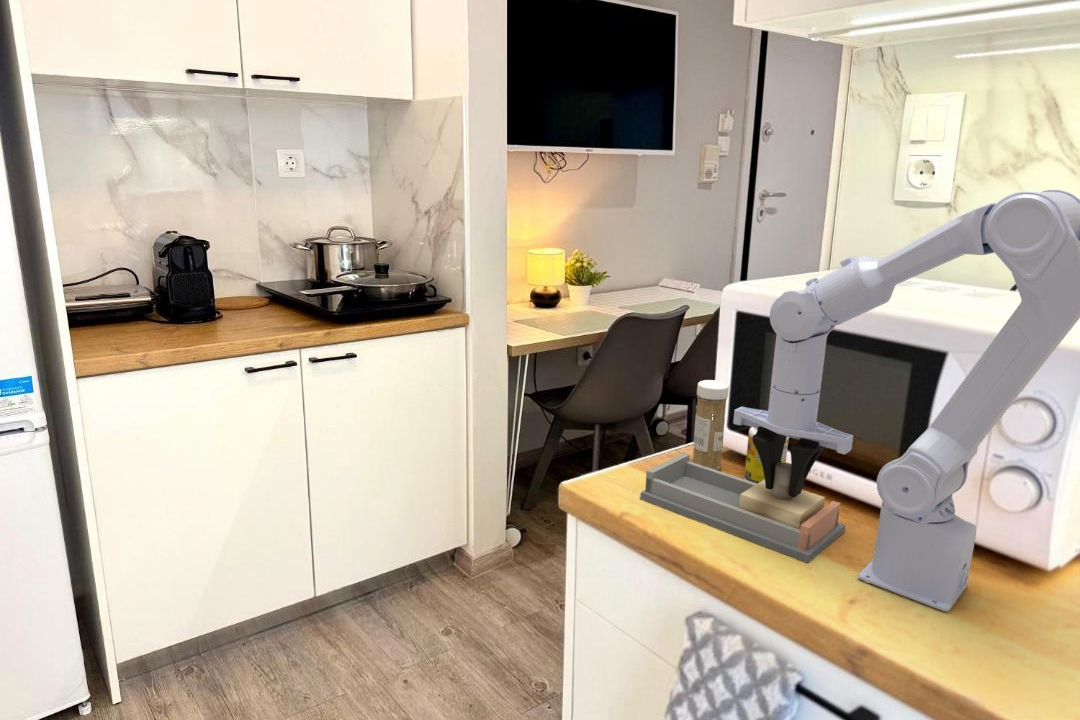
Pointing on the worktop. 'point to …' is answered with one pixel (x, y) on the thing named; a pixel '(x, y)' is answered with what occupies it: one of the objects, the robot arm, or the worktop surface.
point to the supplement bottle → (757, 459)
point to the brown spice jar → (710, 423)
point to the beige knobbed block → (781, 500)
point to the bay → (735, 508)
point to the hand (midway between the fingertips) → (783, 490)
